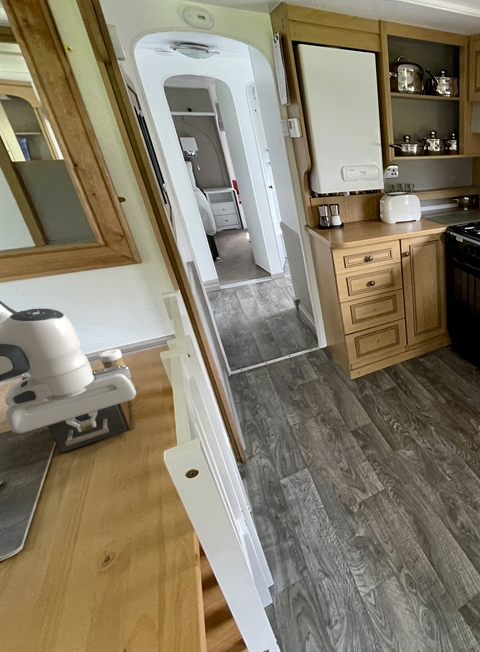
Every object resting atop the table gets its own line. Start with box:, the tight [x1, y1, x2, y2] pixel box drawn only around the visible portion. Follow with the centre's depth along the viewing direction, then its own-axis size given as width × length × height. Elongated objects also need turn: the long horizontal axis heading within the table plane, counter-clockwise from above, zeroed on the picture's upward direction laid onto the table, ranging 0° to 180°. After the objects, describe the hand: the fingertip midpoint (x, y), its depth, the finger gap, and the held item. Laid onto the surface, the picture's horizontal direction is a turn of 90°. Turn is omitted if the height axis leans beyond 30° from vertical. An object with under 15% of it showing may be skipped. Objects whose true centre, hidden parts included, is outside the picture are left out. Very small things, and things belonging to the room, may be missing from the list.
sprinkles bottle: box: [98, 348, 126, 369], centre depth 109 cm, size 5×5×14 cm
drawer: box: [49, 404, 127, 453], centre depth 93 cm, size 19×12×8 cm, turn 42°
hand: (87, 428), depth 88 cm, fingers closed
